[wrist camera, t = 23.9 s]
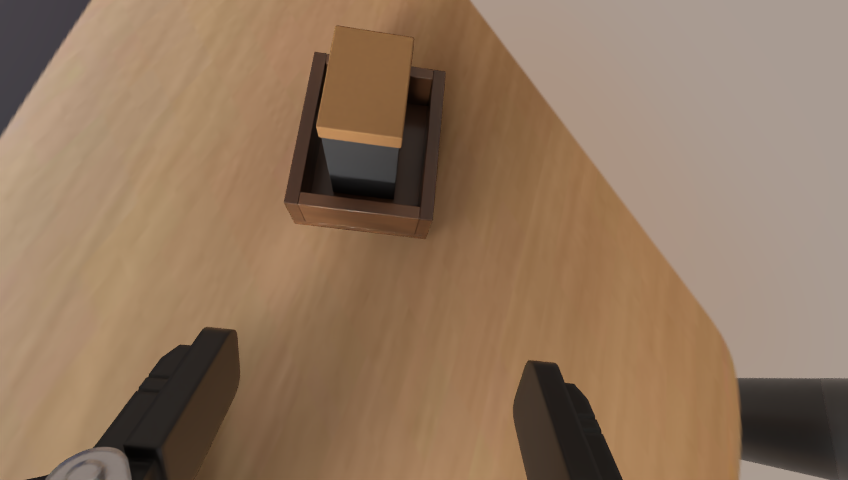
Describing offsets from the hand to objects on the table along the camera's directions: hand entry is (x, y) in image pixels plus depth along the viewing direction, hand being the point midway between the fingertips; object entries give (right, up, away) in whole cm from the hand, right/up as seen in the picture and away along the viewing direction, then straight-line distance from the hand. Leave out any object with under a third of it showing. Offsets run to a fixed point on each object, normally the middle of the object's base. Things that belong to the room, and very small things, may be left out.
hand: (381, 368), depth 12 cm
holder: (-2, +9, +18) cm, 20 cm away
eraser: (-3, +9, +17) cm, 20 cm away
